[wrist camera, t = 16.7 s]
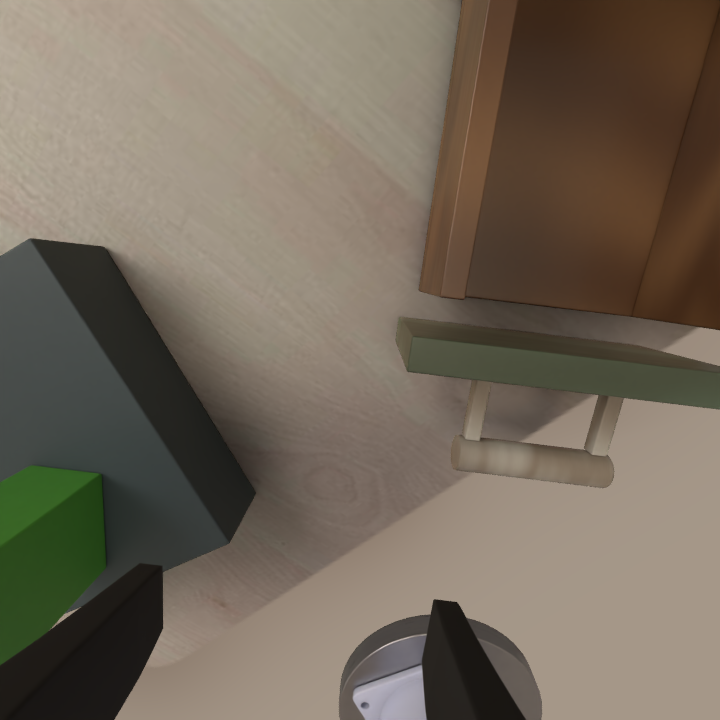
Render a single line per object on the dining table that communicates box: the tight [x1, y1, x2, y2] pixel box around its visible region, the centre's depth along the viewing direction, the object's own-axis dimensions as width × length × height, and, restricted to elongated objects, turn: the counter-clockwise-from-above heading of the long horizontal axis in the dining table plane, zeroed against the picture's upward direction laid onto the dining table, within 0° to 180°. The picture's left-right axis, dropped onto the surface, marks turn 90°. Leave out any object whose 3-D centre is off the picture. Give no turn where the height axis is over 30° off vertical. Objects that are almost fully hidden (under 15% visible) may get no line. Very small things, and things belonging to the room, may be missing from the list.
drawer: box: [396, 0, 720, 488], centre depth 13 cm, size 23×11×6 cm, turn 173°
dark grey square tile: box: [0, 238, 256, 613], centre depth 18 cm, size 15×13×4 cm
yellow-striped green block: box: [0, 465, 106, 665], centre depth 14 cm, size 5×3×6 cm, turn 173°
